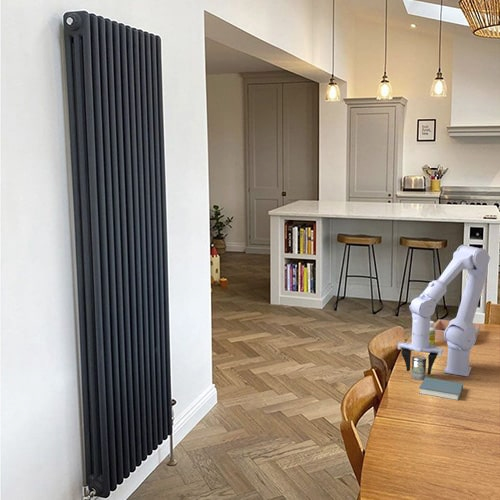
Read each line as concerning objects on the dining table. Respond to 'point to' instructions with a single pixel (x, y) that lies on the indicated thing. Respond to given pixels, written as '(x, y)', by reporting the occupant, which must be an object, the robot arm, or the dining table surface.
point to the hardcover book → (441, 388)
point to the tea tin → (418, 367)
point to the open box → (444, 324)
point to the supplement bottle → (432, 334)
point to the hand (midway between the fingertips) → (418, 372)
